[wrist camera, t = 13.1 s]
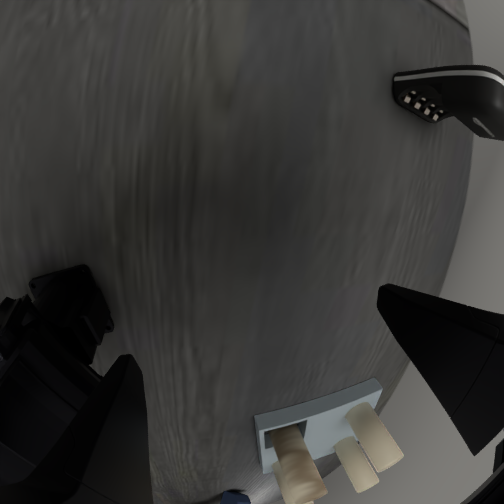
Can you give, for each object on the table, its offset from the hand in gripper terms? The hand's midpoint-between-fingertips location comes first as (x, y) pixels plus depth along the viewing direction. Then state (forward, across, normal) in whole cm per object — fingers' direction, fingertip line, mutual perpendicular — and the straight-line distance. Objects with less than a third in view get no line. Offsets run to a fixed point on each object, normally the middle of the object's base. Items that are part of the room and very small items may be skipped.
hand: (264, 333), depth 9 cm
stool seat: (+13, -7, +36) cm, 39 cm away
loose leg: (+13, -2, +30) cm, 32 cm away
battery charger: (+13, -20, -8) cm, 25 cm away
